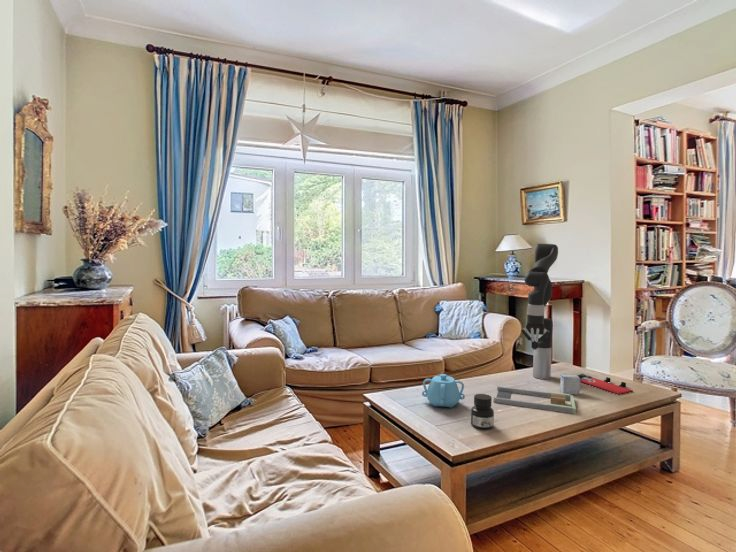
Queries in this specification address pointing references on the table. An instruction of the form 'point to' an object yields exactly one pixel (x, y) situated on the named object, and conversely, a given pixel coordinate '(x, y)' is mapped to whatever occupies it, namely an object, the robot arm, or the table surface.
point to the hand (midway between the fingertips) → (534, 349)
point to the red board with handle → (604, 384)
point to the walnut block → (558, 399)
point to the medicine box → (570, 384)
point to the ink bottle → (482, 412)
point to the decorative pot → (443, 391)
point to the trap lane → (505, 394)
